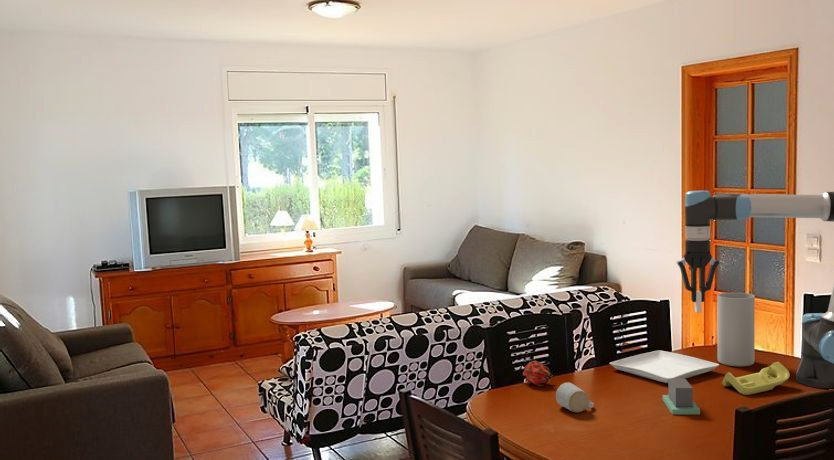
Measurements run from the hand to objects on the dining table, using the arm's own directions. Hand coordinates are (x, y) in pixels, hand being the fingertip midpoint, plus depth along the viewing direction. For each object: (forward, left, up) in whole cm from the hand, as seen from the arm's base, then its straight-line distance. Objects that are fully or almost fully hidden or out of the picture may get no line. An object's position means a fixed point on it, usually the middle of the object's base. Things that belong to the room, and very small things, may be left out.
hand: (698, 311), depth 246 cm
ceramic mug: (+41, +16, -27) cm, 51 cm away
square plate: (+6, -24, -27) cm, 37 cm away
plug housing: (+9, +13, -25) cm, 30 cm away
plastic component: (-20, -4, -27) cm, 33 cm away
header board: (+9, +15, -26) cm, 32 cm away
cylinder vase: (-22, -35, -27) cm, 49 cm away
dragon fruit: (+51, -10, -27) cm, 58 cm away
